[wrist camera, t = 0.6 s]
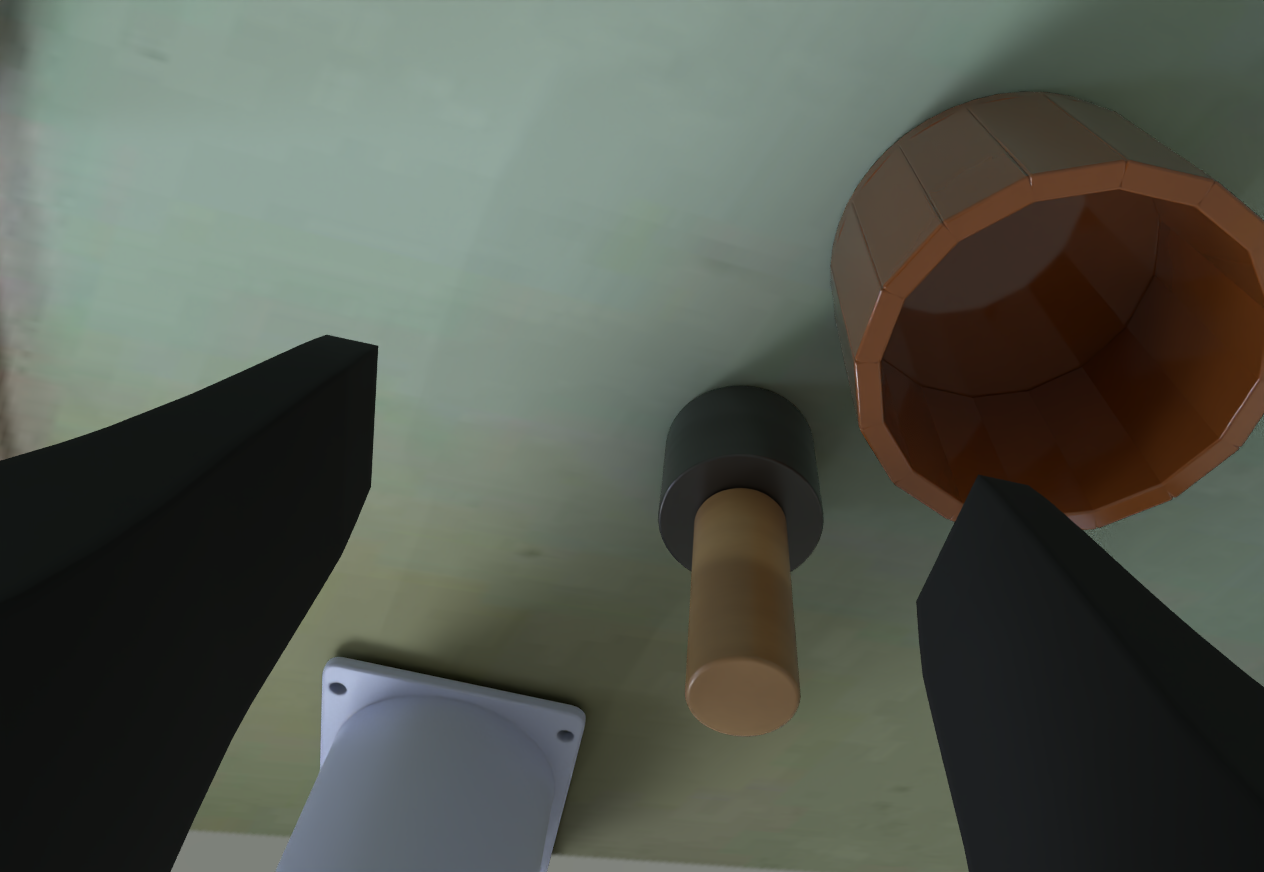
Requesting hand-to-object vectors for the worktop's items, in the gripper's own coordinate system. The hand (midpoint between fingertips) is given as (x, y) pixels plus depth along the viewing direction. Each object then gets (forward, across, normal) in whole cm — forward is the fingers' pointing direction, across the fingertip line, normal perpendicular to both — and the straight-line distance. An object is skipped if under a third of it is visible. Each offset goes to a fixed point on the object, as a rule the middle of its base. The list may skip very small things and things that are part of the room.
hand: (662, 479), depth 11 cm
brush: (+10, -2, +6) cm, 12 cm away
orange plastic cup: (+10, -6, 0) cm, 12 cm away
